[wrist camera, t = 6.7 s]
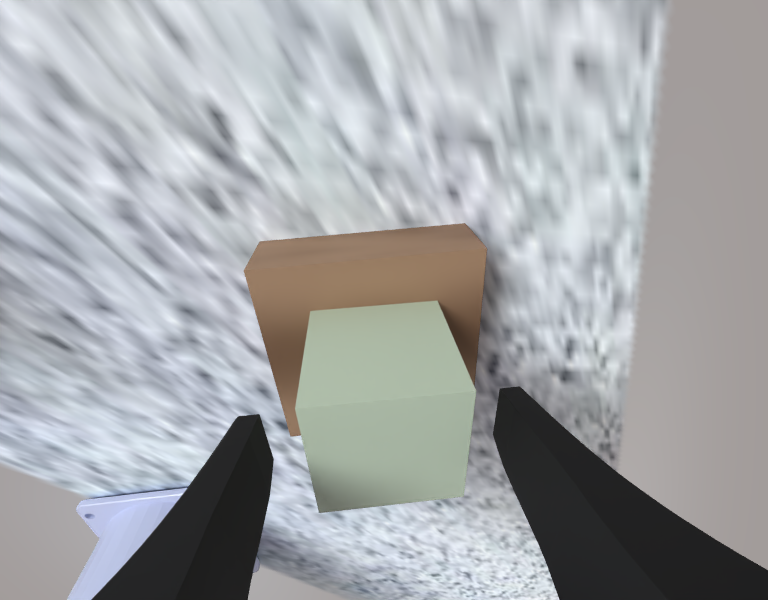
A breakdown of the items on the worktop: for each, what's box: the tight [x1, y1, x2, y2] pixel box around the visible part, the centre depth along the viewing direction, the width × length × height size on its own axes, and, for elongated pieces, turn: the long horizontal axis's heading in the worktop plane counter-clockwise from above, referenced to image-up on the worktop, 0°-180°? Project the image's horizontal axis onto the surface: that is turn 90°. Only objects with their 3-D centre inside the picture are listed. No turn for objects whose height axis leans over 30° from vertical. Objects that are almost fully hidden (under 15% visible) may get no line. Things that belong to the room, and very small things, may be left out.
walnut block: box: [244, 223, 487, 436], centre depth 15 cm, size 8×8×3 cm
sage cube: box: [295, 301, 476, 513], centre depth 12 cm, size 4×4×4 cm
